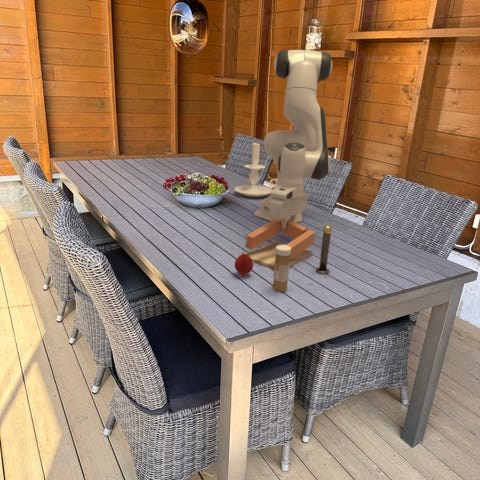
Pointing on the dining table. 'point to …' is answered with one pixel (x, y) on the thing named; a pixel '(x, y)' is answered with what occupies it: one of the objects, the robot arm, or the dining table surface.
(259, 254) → the tray
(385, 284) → the dining table surface
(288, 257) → the sprinkles bottle
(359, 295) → the dining table surface
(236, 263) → the onion
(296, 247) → the c link
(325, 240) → the post stand
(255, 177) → the candlestick
